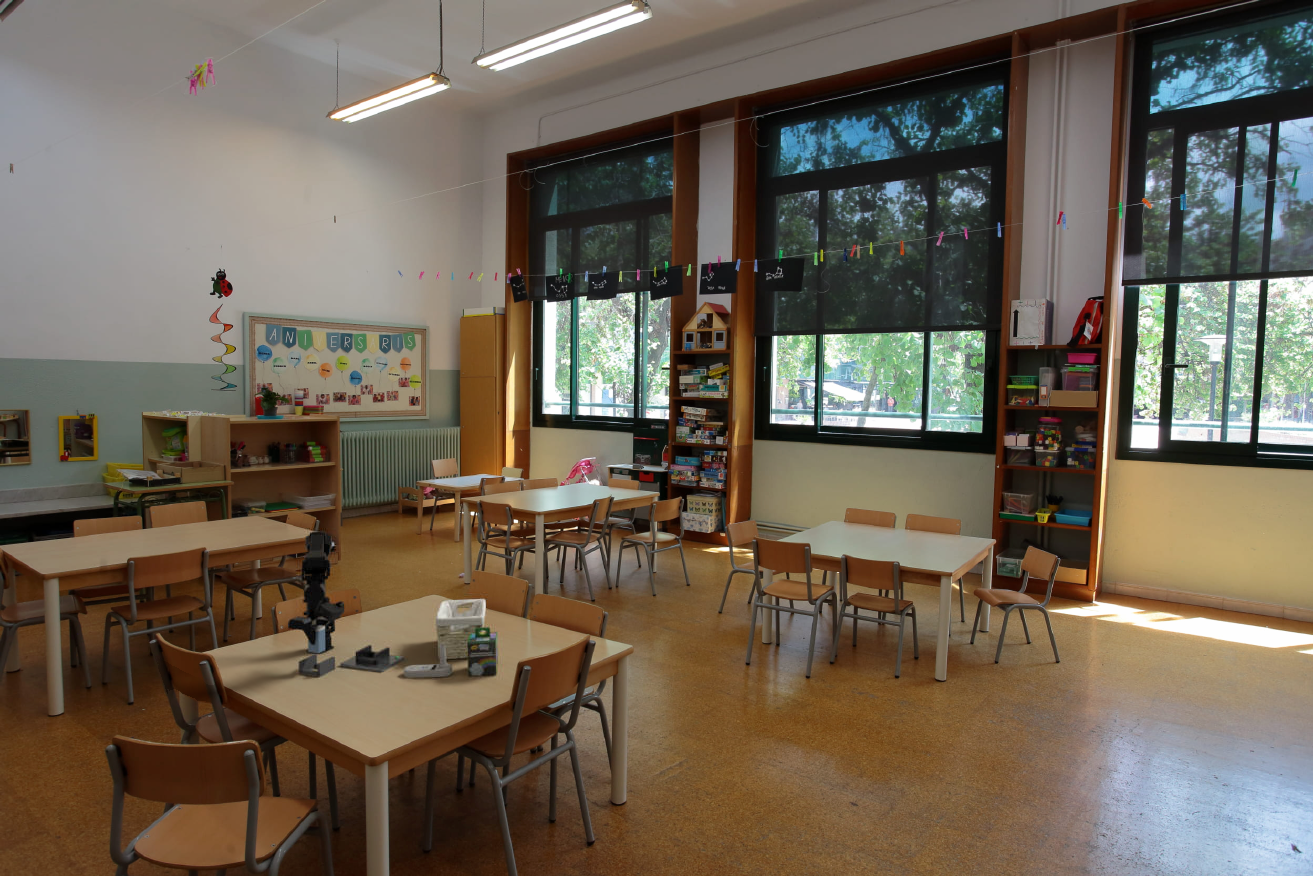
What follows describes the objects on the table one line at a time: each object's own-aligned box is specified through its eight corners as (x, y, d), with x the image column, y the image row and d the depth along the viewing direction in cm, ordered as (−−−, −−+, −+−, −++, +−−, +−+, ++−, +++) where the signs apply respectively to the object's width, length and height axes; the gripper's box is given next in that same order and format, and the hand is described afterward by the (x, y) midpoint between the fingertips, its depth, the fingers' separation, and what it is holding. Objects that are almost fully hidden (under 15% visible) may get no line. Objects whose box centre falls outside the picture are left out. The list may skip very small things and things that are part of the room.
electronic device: (405, 643, 249) (452, 642, 249) (407, 673, 249) (453, 671, 250) (400, 649, 243) (449, 647, 244) (402, 679, 244) (450, 678, 245)
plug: (308, 651, 247) (307, 627, 246) (314, 648, 250) (314, 624, 249) (318, 653, 246) (318, 628, 245) (325, 650, 249) (324, 625, 248)
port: (340, 666, 253) (340, 653, 253) (363, 654, 264) (363, 641, 264) (382, 672, 248) (382, 658, 248) (404, 659, 260) (404, 646, 260)
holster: (298, 673, 246) (298, 661, 246) (314, 666, 253) (314, 654, 253) (320, 676, 244) (319, 664, 244) (335, 669, 251) (334, 657, 250)
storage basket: (441, 639, 282) (440, 599, 281) (486, 637, 285) (486, 597, 284) (434, 662, 258) (434, 618, 257) (484, 659, 261) (484, 616, 260)
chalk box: (498, 665, 256) (498, 621, 255) (496, 675, 247) (496, 630, 246) (469, 666, 254) (469, 622, 253) (467, 677, 245) (467, 631, 244)
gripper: (316, 605, 235) (317, 655, 236) (356, 590, 253) (357, 636, 254) (286, 602, 239) (287, 651, 240) (327, 587, 256) (328, 633, 257)
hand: (316, 643), depth 248 cm, fingers closed on plug, 3 cm apart
